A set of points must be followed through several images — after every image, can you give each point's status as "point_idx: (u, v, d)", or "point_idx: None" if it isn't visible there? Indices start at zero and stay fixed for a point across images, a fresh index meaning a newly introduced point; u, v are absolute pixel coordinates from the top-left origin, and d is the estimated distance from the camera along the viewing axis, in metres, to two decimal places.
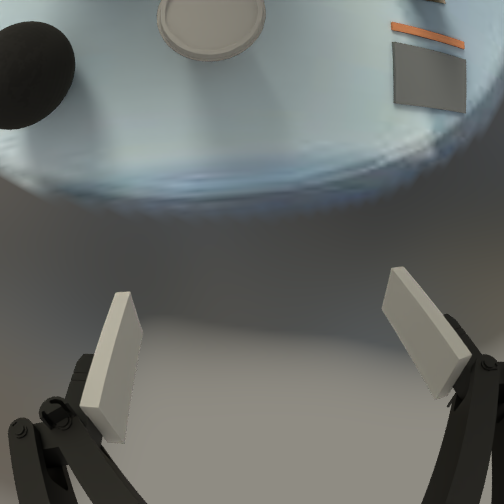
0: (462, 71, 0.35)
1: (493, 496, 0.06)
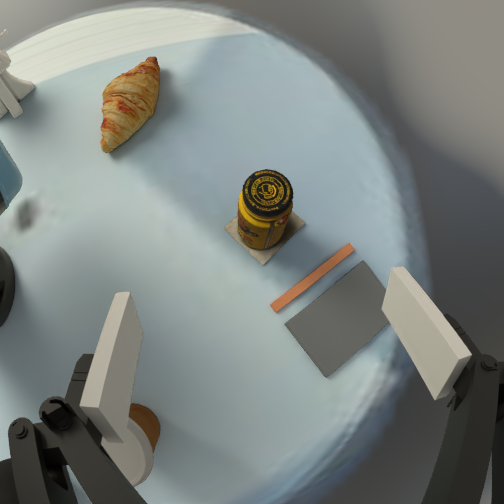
0: (368, 276, 0.42)
1: (493, 496, 0.06)
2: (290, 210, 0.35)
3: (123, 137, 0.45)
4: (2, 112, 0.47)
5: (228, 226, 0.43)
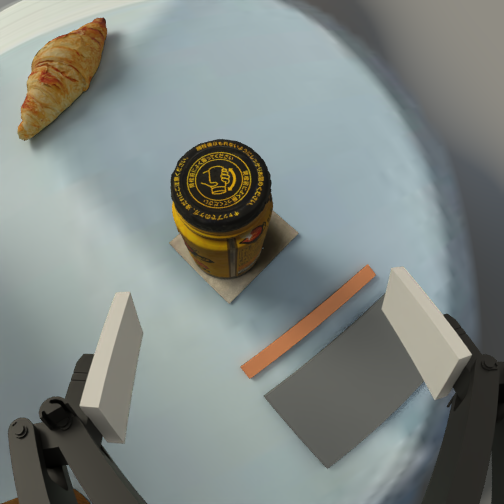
0: None
1: (493, 496, 0.06)
2: (267, 216, 0.18)
3: (45, 118, 0.28)
4: None
5: (176, 240, 0.27)
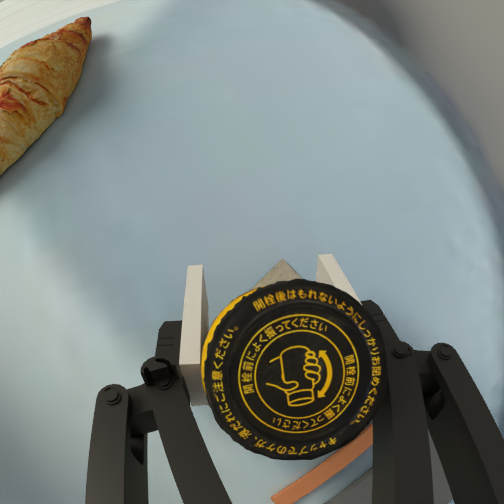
0: None
1: (452, 491, 0.07)
2: None
3: (6, 157, 0.20)
4: None
5: None
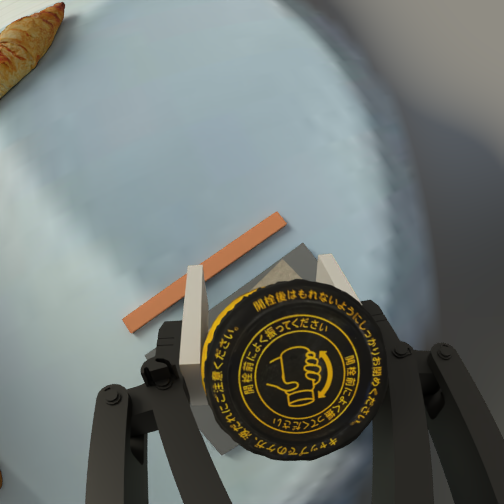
0: (312, 272, 0.23)
1: (452, 491, 0.07)
2: None
3: None
4: None
5: None
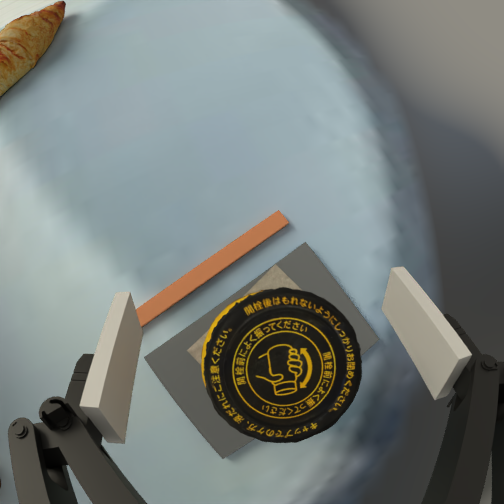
0: (314, 272, 0.23)
1: (493, 496, 0.06)
2: None
3: None
4: None
5: (196, 347, 0.21)
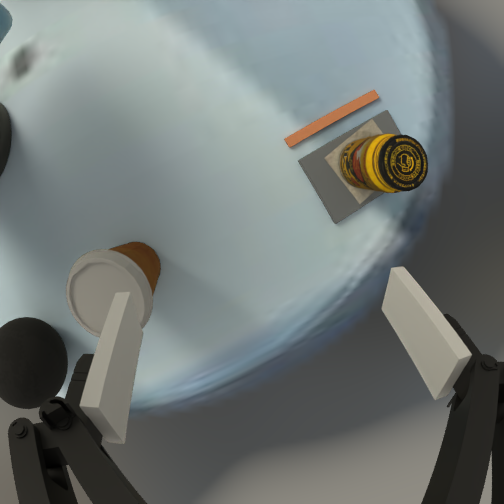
0: (390, 127, 0.36)
1: (493, 496, 0.06)
2: None
3: None
4: None
5: (329, 157, 0.37)
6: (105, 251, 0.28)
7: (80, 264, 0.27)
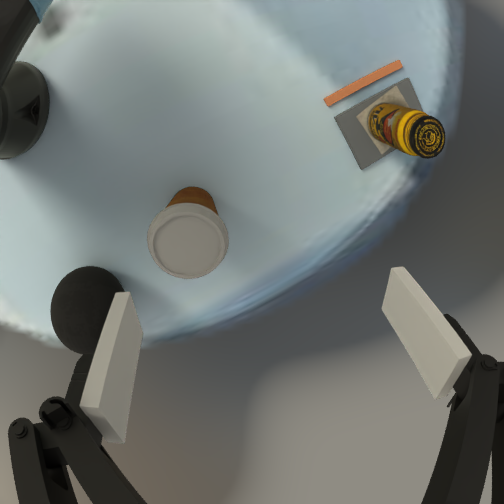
0: (410, 92, 0.39)
1: (493, 496, 0.06)
2: None
3: None
4: None
5: (360, 115, 0.41)
6: (187, 204, 0.34)
7: (165, 218, 0.34)
